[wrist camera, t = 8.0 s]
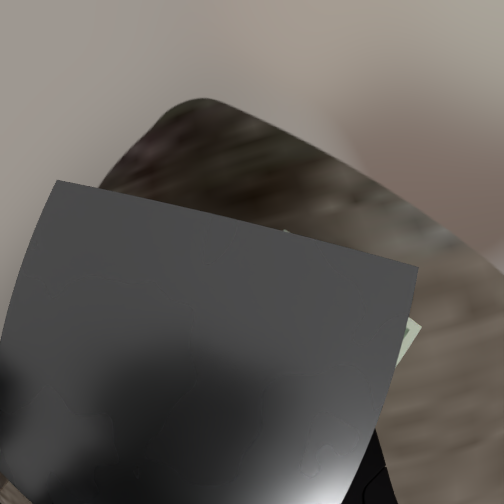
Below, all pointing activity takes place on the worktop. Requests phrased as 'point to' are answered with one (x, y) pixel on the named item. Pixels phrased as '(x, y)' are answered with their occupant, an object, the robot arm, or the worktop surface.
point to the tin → (191, 357)
